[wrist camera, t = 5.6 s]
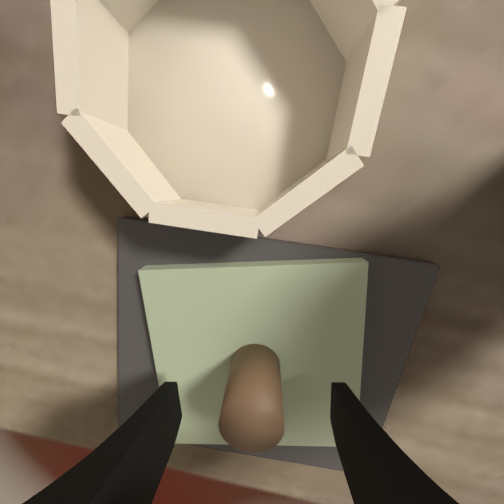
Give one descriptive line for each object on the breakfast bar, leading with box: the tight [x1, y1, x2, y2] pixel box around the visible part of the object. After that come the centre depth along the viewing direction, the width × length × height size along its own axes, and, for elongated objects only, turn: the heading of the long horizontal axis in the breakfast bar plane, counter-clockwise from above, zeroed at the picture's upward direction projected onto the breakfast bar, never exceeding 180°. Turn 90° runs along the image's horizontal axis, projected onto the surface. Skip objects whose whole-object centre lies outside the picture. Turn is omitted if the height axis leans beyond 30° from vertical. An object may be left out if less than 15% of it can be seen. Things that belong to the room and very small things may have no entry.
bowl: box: [50, 0, 407, 239], centre depth 9 cm, size 11×11×4 cm
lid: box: [138, 258, 369, 453], centre depth 12 cm, size 11×11×4 cm
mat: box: [118, 217, 440, 471], centre depth 14 cm, size 16×14×1 cm
